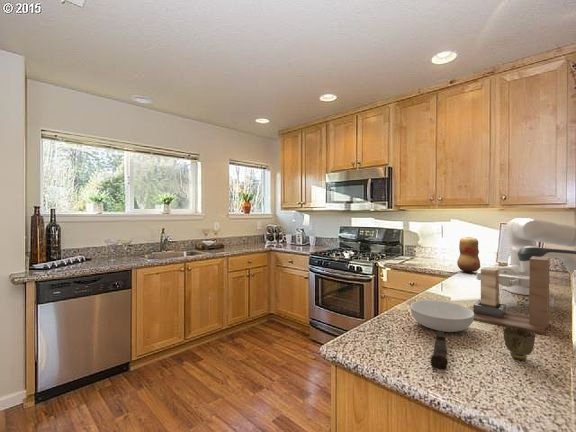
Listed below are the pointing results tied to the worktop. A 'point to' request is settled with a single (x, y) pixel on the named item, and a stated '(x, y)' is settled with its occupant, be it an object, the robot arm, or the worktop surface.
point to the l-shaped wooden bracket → (537, 303)
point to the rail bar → (490, 287)
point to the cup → (519, 342)
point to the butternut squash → (468, 255)
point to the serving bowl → (442, 315)
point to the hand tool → (439, 352)
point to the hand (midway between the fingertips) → (498, 281)
